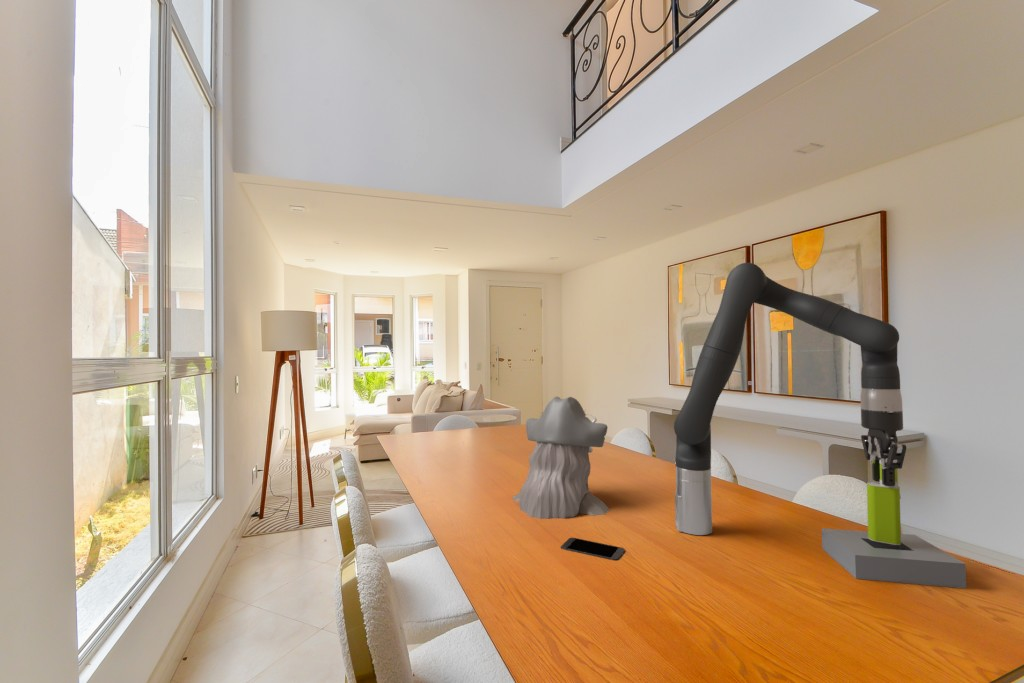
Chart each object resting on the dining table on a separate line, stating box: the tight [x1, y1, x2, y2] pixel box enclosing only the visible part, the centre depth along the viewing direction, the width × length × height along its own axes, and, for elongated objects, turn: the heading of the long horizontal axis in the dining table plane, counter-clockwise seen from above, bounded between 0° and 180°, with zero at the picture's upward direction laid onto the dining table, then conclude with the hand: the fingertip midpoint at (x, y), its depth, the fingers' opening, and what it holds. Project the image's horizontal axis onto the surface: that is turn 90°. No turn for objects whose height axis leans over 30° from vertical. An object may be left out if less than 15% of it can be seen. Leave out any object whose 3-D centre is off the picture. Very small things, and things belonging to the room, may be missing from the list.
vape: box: [866, 454, 902, 545], centre depth 104 cm, size 4×6×20 cm, turn 59°
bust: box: [511, 396, 611, 520], centre depth 151 cm, size 34×34×35 cm
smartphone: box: [560, 537, 626, 562], centre depth 113 cm, size 7×15×1 cm, turn 60°
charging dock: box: [821, 528, 967, 589], centre depth 103 cm, size 20×16×5 cm
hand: (883, 483), depth 104 cm, fingers closed on vape, 3 cm apart
